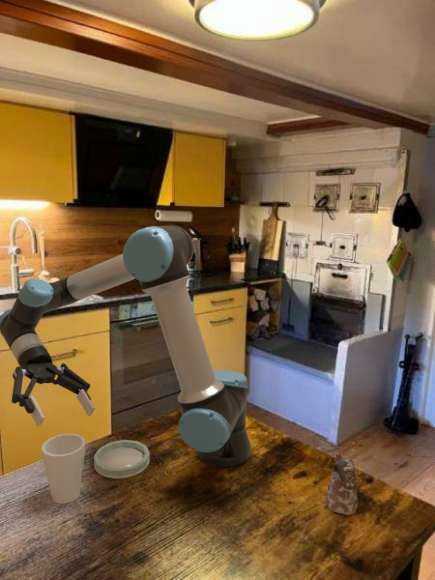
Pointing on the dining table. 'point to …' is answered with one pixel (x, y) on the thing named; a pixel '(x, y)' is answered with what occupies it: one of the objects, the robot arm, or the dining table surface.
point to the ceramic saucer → (121, 459)
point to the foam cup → (64, 466)
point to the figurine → (342, 487)
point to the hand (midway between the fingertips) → (67, 417)
